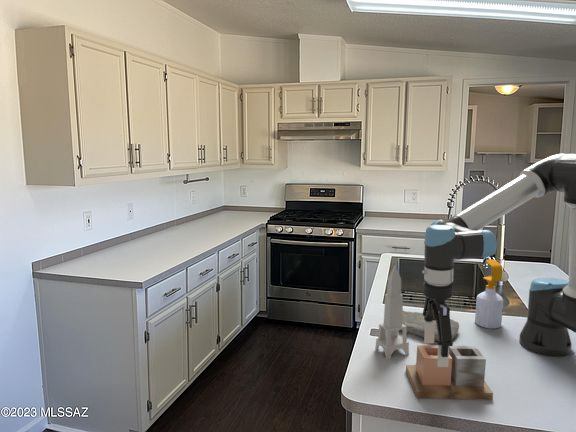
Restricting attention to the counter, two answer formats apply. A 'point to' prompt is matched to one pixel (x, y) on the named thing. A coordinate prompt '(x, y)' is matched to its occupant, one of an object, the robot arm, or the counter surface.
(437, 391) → the pin board
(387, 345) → the sculpture
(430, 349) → the orange hollow cube
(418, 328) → the stone
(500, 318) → the spray bottle
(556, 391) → the counter surface
